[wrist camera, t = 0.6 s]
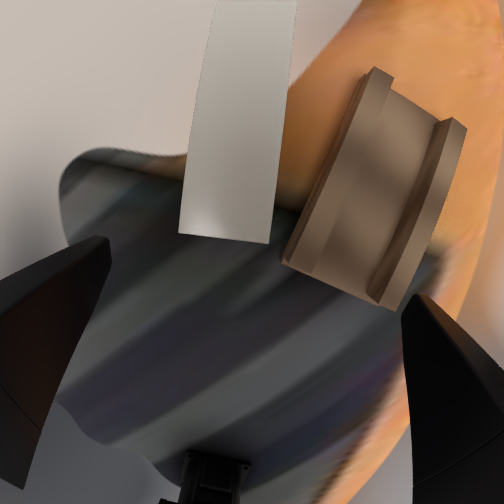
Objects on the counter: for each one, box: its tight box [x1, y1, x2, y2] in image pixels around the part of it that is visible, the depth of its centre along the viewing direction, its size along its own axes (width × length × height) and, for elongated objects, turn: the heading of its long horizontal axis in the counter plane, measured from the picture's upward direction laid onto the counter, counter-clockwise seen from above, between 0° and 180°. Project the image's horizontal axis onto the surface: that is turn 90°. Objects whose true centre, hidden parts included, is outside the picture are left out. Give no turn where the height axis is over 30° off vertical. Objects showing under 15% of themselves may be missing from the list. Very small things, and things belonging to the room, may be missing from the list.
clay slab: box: [178, 0, 297, 244], centre depth 16 cm, size 12×4×10 cm, turn 173°
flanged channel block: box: [280, 66, 467, 312], centre depth 19 cm, size 15×8×4 cm, turn 156°
